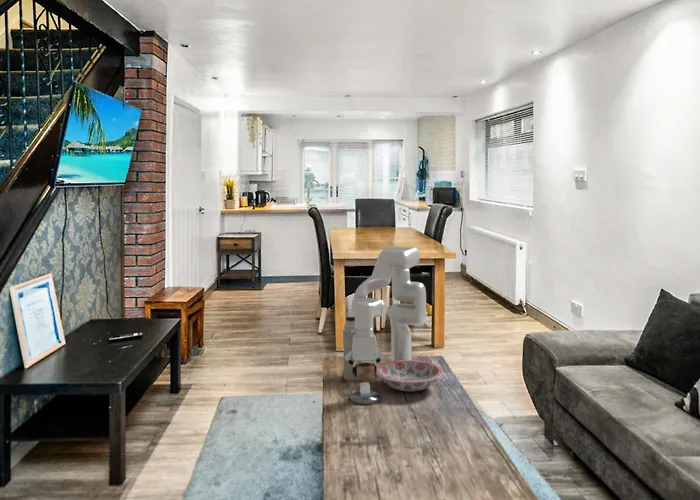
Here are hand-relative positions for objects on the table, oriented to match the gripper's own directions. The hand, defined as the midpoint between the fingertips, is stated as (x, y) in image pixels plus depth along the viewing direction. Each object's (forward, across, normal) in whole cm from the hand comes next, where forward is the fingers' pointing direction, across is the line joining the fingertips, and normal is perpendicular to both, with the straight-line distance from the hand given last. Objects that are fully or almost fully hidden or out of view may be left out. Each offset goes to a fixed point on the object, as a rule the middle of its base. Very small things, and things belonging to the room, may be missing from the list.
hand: (364, 374), depth 230 cm
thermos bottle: (+11, -1, +28) cm, 30 cm away
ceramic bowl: (+11, +21, +10) cm, 26 cm away
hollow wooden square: (+1, 0, 0) cm, 1 cm away
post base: (+11, 0, 0) cm, 11 cm away
